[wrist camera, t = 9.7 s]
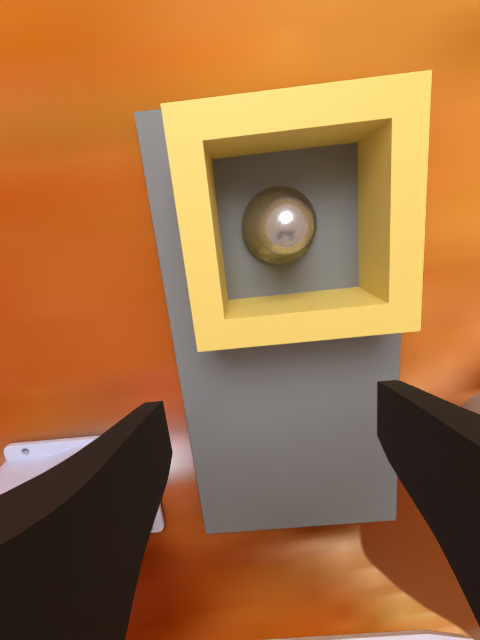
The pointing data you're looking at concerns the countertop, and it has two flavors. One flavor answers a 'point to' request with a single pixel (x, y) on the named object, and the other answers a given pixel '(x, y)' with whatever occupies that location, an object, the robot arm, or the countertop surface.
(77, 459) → the robot arm
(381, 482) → the keeper board
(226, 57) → the countertop surface
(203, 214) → the link
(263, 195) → the metal drawer knob
